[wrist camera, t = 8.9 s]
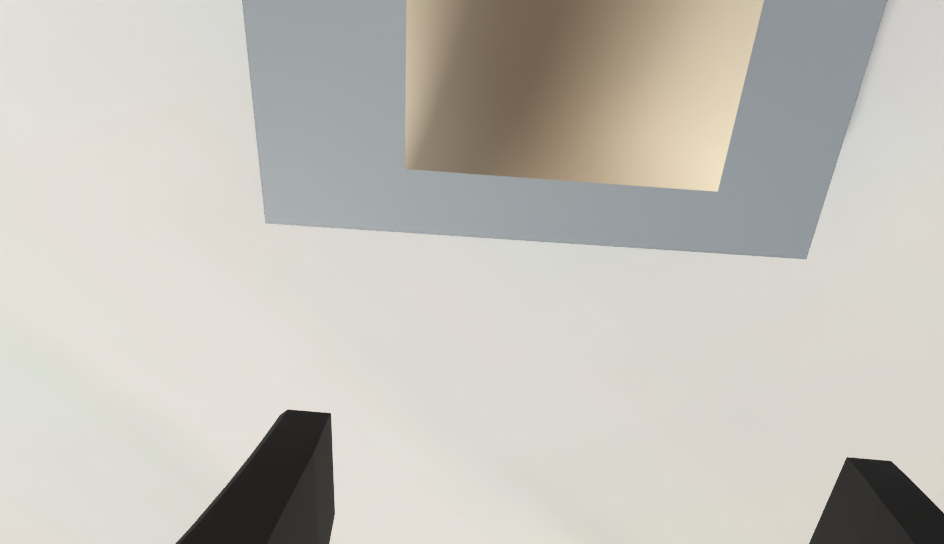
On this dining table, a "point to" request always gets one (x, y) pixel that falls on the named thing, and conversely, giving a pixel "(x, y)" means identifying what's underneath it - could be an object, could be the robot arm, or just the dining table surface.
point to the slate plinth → (542, 200)
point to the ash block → (577, 88)
